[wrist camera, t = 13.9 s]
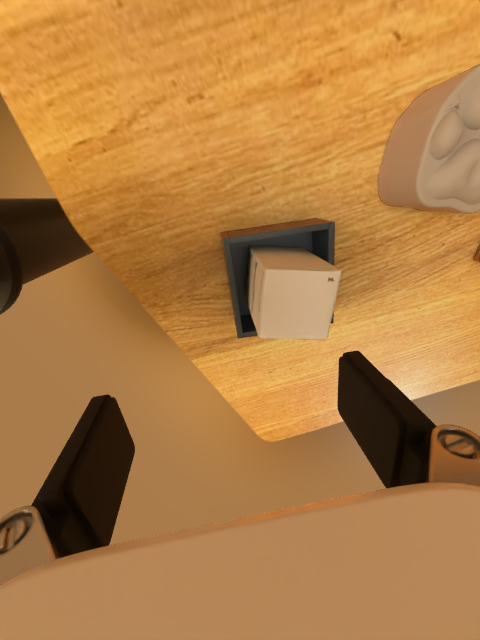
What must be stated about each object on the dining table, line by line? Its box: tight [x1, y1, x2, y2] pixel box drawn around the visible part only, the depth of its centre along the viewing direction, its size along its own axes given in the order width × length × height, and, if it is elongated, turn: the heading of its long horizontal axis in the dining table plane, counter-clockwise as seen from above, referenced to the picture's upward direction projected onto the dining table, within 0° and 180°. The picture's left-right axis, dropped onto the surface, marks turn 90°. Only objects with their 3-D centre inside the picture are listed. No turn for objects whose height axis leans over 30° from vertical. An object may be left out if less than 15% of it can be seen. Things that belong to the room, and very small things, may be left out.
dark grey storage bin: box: [221, 218, 335, 339], centre depth 35 cm, size 12×12×6 cm
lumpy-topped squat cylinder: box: [378, 64, 480, 213], centre depth 29 cm, size 10×13×9 cm
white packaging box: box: [245, 245, 342, 340], centre depth 31 cm, size 7×7×13 cm
